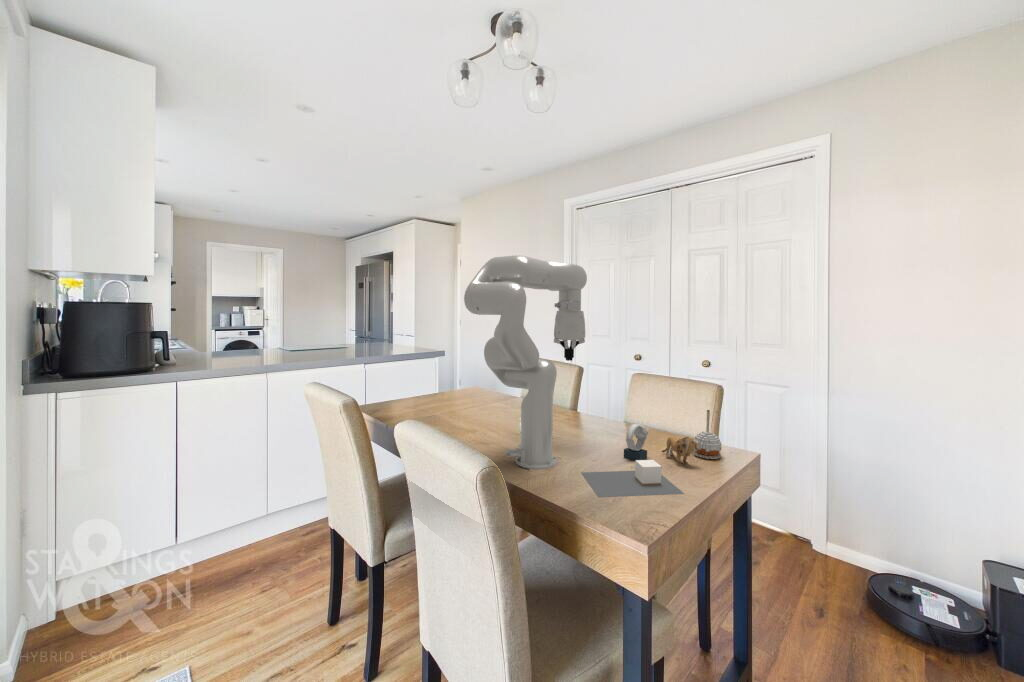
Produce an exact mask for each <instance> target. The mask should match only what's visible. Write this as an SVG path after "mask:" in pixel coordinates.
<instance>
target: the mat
mask: <svg viewBox="0 0 1024 682" xmlns="http://www.w3.org/2000/svg"><path fill="white" fill-rule="evenodd" d="M580 474H581V475H582V476H583V478H584V480H586V482H587V483H588V485H589V486H590V487H591V489H592V491H593V492H594V493H595V495H596V496H597V498H613V497H615V498H616V497H619V498H620V497H634V496H635V497H639V496H665V495H666V496H667V495H669V496H670V495H685V493H684V492H683V491H682V490H681V489H680V488H679V487H677V486H676V485H675V484H673V482H672V481H670V480H669V479H667V478H666V477H665V476H664V475H663V474H661V485H655V486H642V485H641V484H640V483H639V482H638V481H637V480H636V479H635V470H620V471H619V470H616V471H615V470H614V471H612V470H611V471H587V472H585V471H584V472H583V471H582V472H580Z"/></svg>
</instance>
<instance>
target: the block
mask: <svg viewBox="0 0 1024 682" xmlns="http://www.w3.org/2000/svg"><path fill="white" fill-rule="evenodd" d="M634 462H635V463H634V464H635V465H634V471H635V479H636V480H637V481H638V482H639V483H640V484H641V485H642V486H655V485H661V475H662V470H663V469H662V465H660V463H658V462H657V461H655V460H654V459H646V460H635V461H634Z"/></svg>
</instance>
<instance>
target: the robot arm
mask: <svg viewBox="0 0 1024 682" xmlns="http://www.w3.org/2000/svg"><path fill="white" fill-rule="evenodd" d="M587 279H588V275H587V273H586V270H585V268H584V267H582V266H580V265H578V264H574V263H568V262H567V263H566V262H558V261H551V260H549V261H548V260H541V259H538V258H533V257H530V256H527V255H518V254H517V255H506V256H495V257H492V258H490V259H489V260H488V261H487V262H486V263H484V265H482V266H481V268H480V269H479V271H477V274H476V275H475V276H474V277H473V278H472V280H471V281H470V283H469V284H468V285H467V287H466V289H465V291H464V292H465V293H464V296H463V299H464V300H463V301H464V305H465V308H466V310H467V311H469V312H470V313H471V314H473V315H479V316H480V315H482V316H484V315H485V316H488V315H489V316H500V319H499V321H498V323H497V325H496V326H495V328H494V332H493V336H492V337H491V338H489V339H488V340H487V341H486V343H485V345H484V349H483V355H484V356H483V357H484V360H485V363H486V365H487V366H488V368H489V370H490V371H491V372H492V373H493V374H494V375H495V377H496V378H497V379H498V380H499V381H500V382H501V383H502V384H503V385H505V386H506V387H510V388H515V389H523V390H528V392H527V393H526V395H525V396H524V398H523V399H522V401H521V405H520V444H519V445H518V447H515V449H511V448H509V449H508V448H507V449H506V448H505V449H504V450H505V451H504V453H505V456H506V457H507V456H508V457H510V458H515V464H516V465H517V466H518V467H521V468H524V469H531V470H544V469H545V470H546V469H550V468H554V467H555V466H556V465H558V457H557V456H555V455H553V435H554V434H553V433H554V432H553V428H554V427H553V424H554V423H553V421H554V420H553V416H554V415H553V414H554V410H553V409H554V408H553V407H554V394H555V393H554V392H555V386H556V381H557V376H558V375H557V373H558V372H557V370H558V369H557V367H556V365H555V363H553V362H552V361H551V360H549V359H547V358H543V357H542V358H541V357H540V353H539V349H538V347H537V345H536V344H535V343H534V340H532V337H531V336H530V335H529V334H528V332H527V330H526V328H525V326H524V323H525V315H526V306H527V295H526V290H525V289H524V288H527V289H533V290H547V291H550V292H558V302H557V303H554V308H557V309H558V310H556V312H555V319H554V329H553V343H555V344H558V345H560V346H561V347H562V348H563V349H564V351H563V352H564V353H563V356H564V359H565V361H570V362H572V361H573V359H574V358H575V349H576V347H577V346H578V345H580V344H584V343H585V342H586V340H585V338H586V319H585V313H584V311H583V310H582V290H583V289H584V288H585V286H586V285H587V282H588V280H587ZM568 341H570V344H569V342H568Z"/></svg>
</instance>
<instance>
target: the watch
mask: <svg viewBox="0 0 1024 682" xmlns="http://www.w3.org/2000/svg"><path fill="white" fill-rule="evenodd" d="M648 435H649V432H648V429H647V428H646V427H645V426H644V425H643V424H640V423H632V424H630V425H629V426H628V428H627V432H626V439H625V441H626V444H627V447H626V448H624V449H623V459H627V460H629V461H634V462H635V460H648V450H646V449H643V447H644V445H645V441H646V440H647V438H648ZM634 436H635V439H637V440H636V442H635V439H634ZM635 443H636V444H635Z"/></svg>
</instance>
